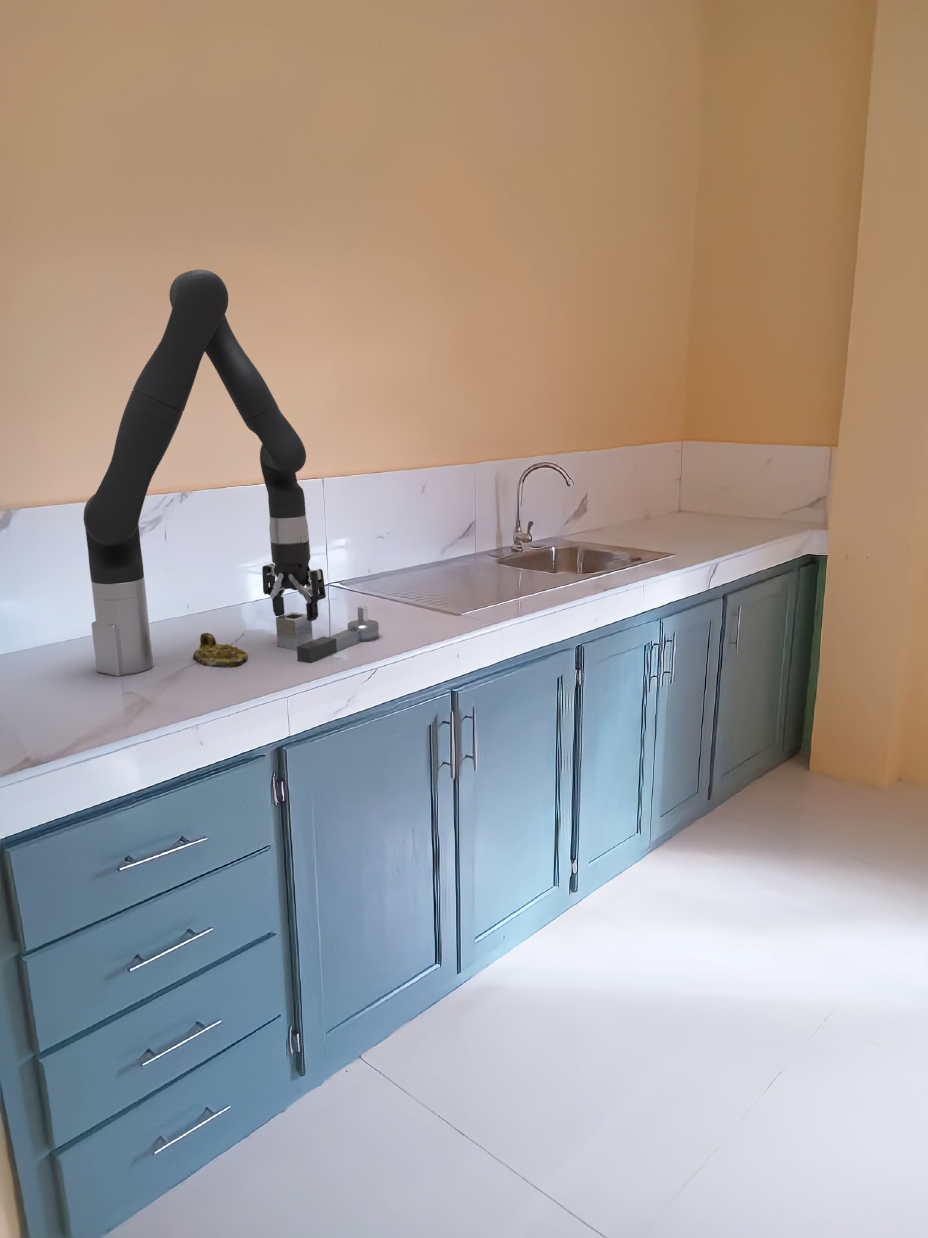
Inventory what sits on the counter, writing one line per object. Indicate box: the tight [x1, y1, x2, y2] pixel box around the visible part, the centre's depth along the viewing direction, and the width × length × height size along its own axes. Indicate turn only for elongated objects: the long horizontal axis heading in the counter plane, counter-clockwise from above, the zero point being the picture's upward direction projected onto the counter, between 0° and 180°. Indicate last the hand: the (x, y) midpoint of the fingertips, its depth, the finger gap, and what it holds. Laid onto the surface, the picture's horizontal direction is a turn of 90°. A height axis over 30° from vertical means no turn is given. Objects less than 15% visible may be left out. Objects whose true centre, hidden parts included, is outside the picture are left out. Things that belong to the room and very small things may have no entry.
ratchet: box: [296, 605, 380, 664], centre depth 188 cm, size 22×6×6 cm, turn 149°
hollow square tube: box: [275, 611, 314, 651], centre depth 190 cm, size 5×5×6 cm
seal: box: [192, 632, 249, 668], centre depth 183 cm, size 9×5×15 cm
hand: (295, 617), depth 190 cm, fingers open, 8 cm apart
